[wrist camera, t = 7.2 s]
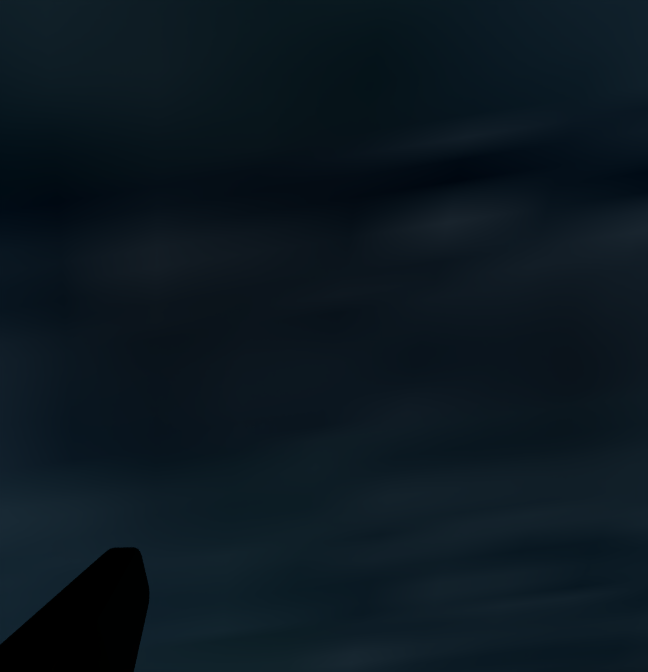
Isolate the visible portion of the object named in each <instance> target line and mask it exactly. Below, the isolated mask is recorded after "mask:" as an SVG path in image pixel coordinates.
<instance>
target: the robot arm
mask: <svg viewBox="0 0 648 672" xmlns="http://www.w3.org/2000/svg"><path fill="white" fill-rule="evenodd" d="M148 604H149V585H148V581H147V576H146V572H145V568H144V564H143V559H142V555H141V553H140V551H139V549H137V548H134V547H124V548H111V549H109V550H108V551H106V552H105V553H104V554H103V555H102V556H100V557H99V558H98V559H97V560H96V561H95V562H94V563H92V564H91V565H90V566H89V567H88V568H87V569H86V570H84V571H83V572H82V573H81V574H80V575H79V576H78V577H77V578H75V579H74V580H73V581H72V582H71V583H70V584H69V585H67V586H66V587H65V588H64V589H63V590H62V591H61V592H60V593H58V594H57V595H56V596H55V597H54V598H53V599H52V600H50V601H49V602H48V603H47V604H46V605H45V606H44V607H42V608H41V609H40V610H39V611H38V612H37V613H36V614H35V615H33V616H32V617H31V618H30V619H29V620H28V621H27V622H25V623H24V624H23V625H22V626H21V627H20V628H19V629H17V630H16V631H15V632H14V633H13V634H12V635H11V636H10V637H8V638H7V639H6V640H5V641H4V642H3V643H2V644H0V672H134V668H135V664H136V659H137V654H138V650H139V645H140V641H141V636H142V632H143V627H144V623H145V618H146V614H147V609H148Z"/></svg>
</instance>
